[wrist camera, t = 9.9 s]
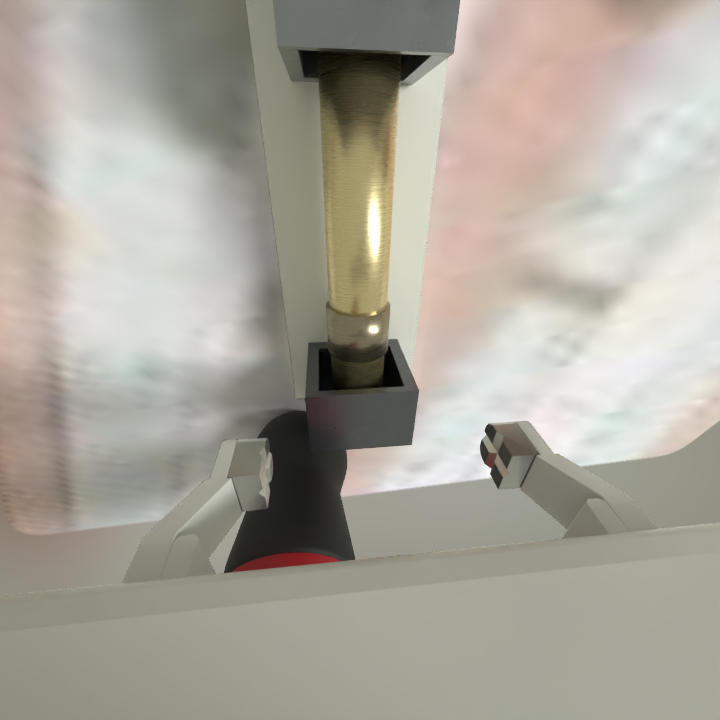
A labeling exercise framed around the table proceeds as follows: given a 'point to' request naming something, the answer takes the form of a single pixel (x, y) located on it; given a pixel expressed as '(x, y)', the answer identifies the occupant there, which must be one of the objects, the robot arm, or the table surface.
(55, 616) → the robot arm
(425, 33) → the grey tapered slab
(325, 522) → the cola bottle
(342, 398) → the socket
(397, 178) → the base
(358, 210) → the tube
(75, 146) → the table surface
